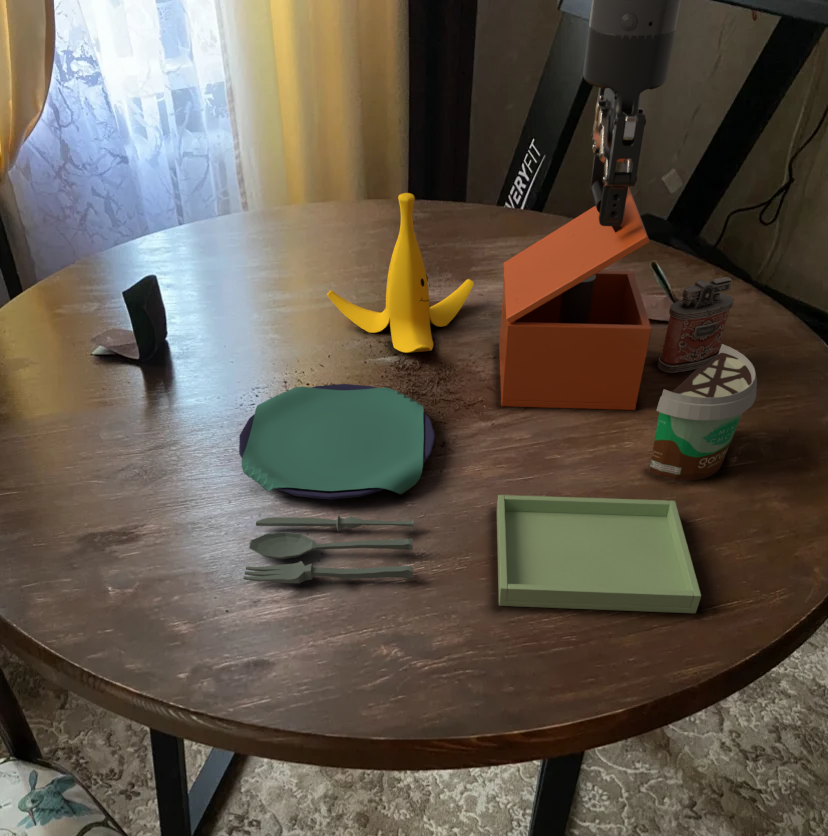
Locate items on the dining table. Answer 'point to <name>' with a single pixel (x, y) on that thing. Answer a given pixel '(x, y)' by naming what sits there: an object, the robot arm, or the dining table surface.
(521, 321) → the orange open box
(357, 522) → the cutlery set
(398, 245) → the banana peel
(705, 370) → the food container
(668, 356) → the lighter
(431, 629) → the dining table surface
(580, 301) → the black cylinder
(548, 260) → the box lid
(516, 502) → the tray
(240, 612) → the dining table surface
